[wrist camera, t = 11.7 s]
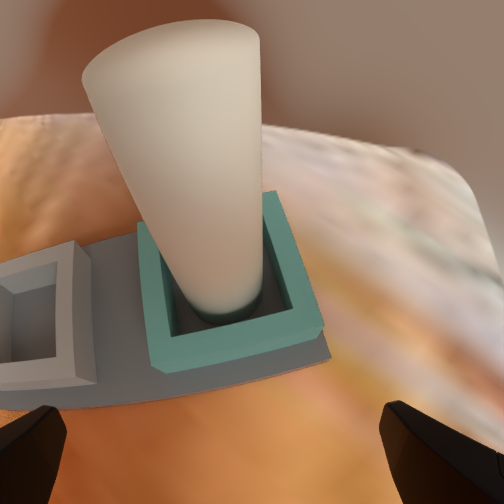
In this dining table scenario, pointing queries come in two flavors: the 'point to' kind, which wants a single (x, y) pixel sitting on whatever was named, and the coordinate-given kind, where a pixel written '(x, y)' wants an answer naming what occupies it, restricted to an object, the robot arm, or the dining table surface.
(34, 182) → the dining table surface
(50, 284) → the socket board
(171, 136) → the peg
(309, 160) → the dining table surface
